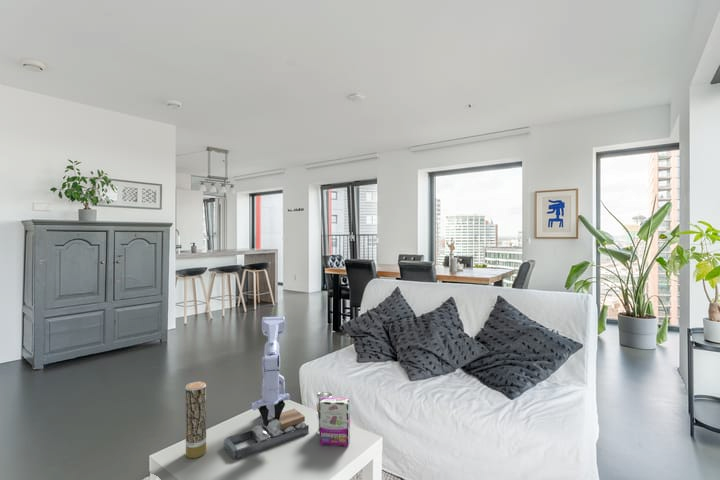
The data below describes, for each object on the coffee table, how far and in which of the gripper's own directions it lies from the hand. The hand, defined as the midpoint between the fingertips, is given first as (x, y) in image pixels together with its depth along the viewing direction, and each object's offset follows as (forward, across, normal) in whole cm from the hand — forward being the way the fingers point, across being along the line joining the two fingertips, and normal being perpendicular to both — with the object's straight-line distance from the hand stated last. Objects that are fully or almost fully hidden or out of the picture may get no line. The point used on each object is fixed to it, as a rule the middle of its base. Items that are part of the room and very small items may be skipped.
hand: (271, 423), depth 140 cm
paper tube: (+9, -23, +13) cm, 28 cm away
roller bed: (+9, +1, +6) cm, 11 cm away
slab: (+4, +9, +6) cm, 12 cm away
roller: (+2, 0, 0) cm, 2 cm away
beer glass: (+9, +22, -4) cm, 24 cm away
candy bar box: (+9, +20, -13) cm, 26 cm away
